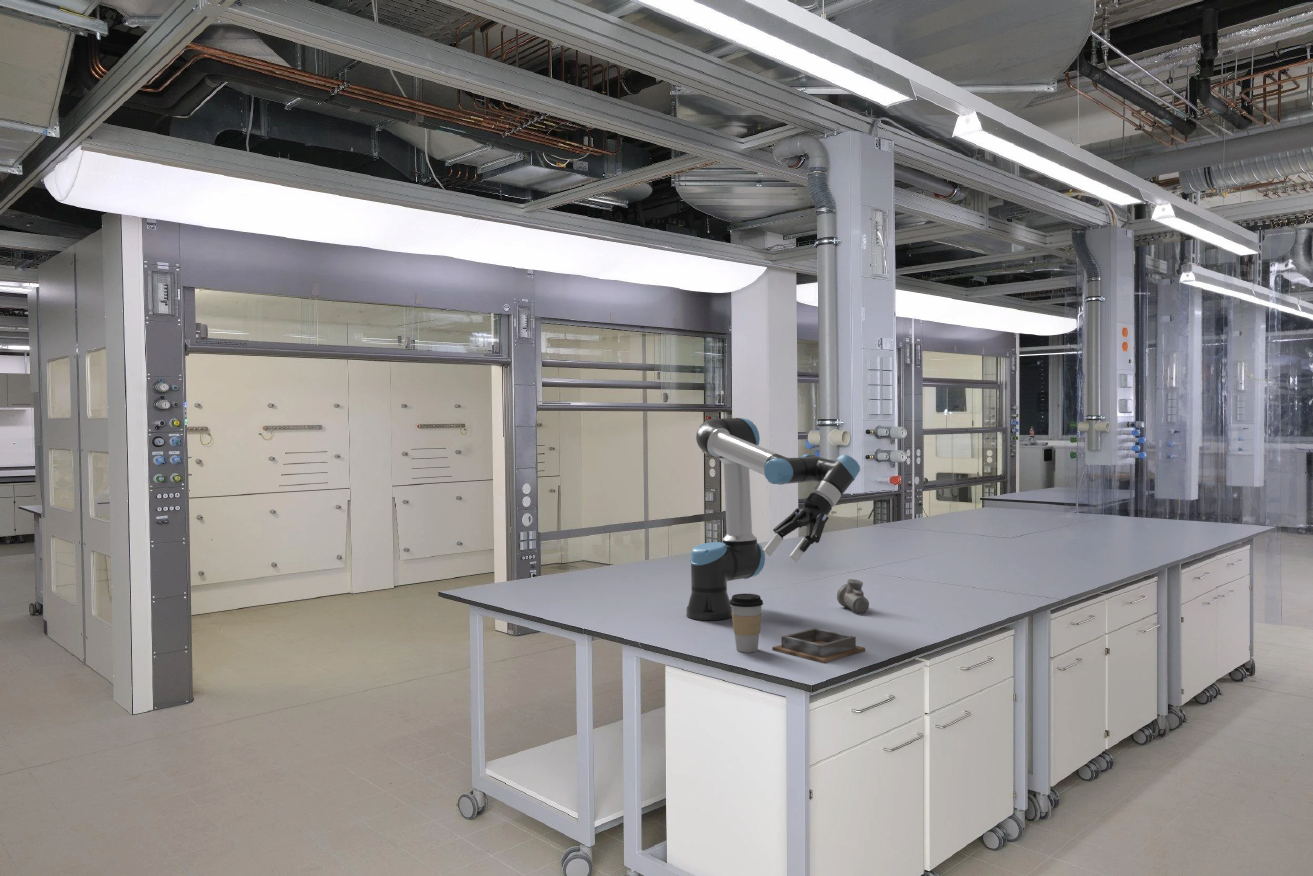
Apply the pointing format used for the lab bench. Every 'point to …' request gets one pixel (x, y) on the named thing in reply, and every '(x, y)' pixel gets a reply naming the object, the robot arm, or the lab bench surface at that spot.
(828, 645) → the square rimmed tray
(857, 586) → the pipe fitting
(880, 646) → the lab bench surface
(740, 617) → the coffee cup
